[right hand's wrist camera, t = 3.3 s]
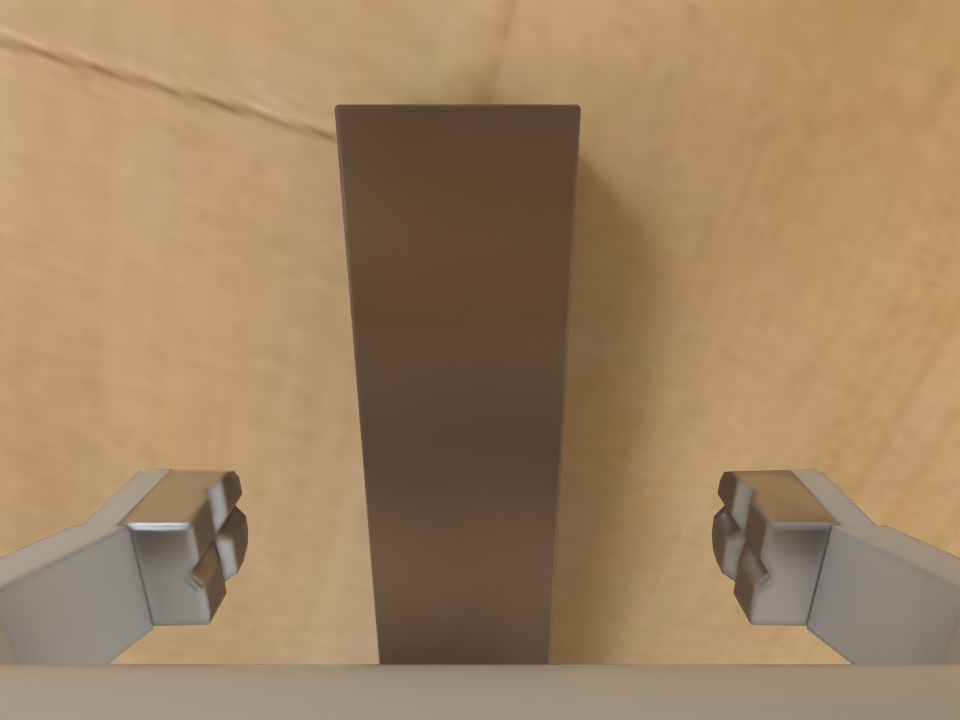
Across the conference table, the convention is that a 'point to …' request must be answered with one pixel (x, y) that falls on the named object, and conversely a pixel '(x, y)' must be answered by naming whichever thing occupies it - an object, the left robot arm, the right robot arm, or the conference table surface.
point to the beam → (460, 367)
